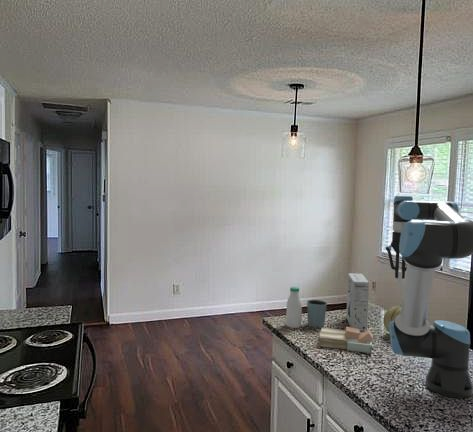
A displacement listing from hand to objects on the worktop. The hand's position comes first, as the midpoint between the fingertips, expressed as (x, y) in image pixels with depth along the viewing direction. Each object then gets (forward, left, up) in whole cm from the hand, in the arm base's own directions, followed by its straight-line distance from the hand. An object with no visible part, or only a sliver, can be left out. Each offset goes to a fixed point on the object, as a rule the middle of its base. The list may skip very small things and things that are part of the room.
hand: (399, 285), depth 180 cm
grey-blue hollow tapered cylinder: (+26, +37, -30) cm, 54 cm away
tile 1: (+3, +19, -26) cm, 32 cm away
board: (+3, +27, -29) cm, 40 cm away
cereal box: (+34, +17, -30) cm, 48 cm away
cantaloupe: (+22, -3, -30) cm, 37 cm away
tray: (+3, +16, -29) cm, 33 cm away
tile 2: (+3, +14, -24) cm, 28 cm away
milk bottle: (+20, +48, -30) cm, 60 cm away
